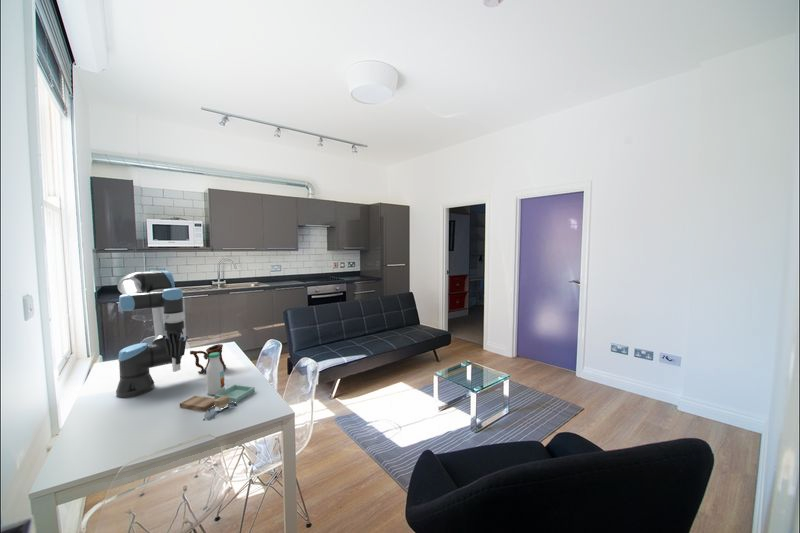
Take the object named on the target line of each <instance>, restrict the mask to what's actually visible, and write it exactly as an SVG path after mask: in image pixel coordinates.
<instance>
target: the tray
mask: <svg viewBox="0 0 800 533" xmlns="http://www.w3.org/2000/svg"><path fill="white" fill-rule="evenodd" d="M255 390H256V388H255V386H248V385H241V384H232V385H231V386H229V387H227V388H226V389H224V390H223V391H222V392H220V393H218V394H216V395H214V398H216V399H218V398H220V397H222V396H229V401H233V402H236V404H238V403H239V402H241V401H243V400H245V399H246V398H248V397H249V396H251V395H253V394H254V393H255V392H256V391H255Z"/></svg>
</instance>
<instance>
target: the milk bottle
mask: <svg viewBox="0 0 800 533" xmlns="http://www.w3.org/2000/svg"><path fill="white" fill-rule="evenodd" d="M219 357H220V353H219V352H214V353H211V354H209V359H210V362H209V364H208V367H207V370H206V373H205V374H206V375H205V376H206V377H205V378H206V393H207V395H209V396H215V395H216V394H218V393H220V392H222V391H223V390H225V370H224V369H223V365H222V363H221V362H220V359H219Z"/></svg>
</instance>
